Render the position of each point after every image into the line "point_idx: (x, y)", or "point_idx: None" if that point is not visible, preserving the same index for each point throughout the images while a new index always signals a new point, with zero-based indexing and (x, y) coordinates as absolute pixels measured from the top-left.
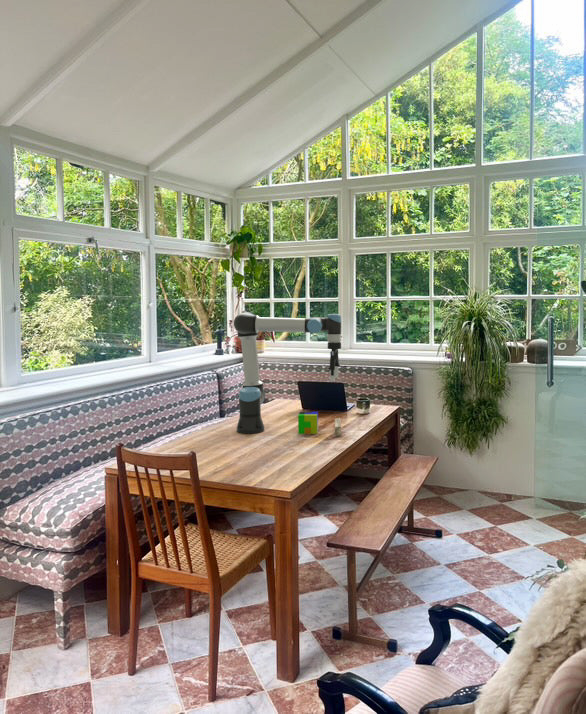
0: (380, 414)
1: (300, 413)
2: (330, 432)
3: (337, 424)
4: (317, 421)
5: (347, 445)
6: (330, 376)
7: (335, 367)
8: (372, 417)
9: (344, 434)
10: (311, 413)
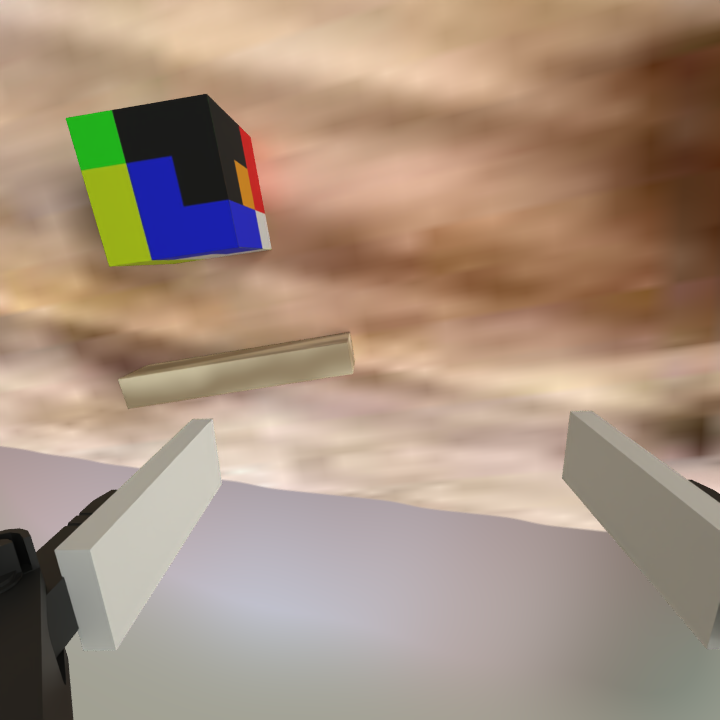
0: None
1: (141, 118)
2: (220, 328)
3: (179, 383)
4: (196, 257)
5: (2, 441)
6: (154, 463)
7: (701, 570)
8: None
9: (197, 402)
10: (165, 210)
